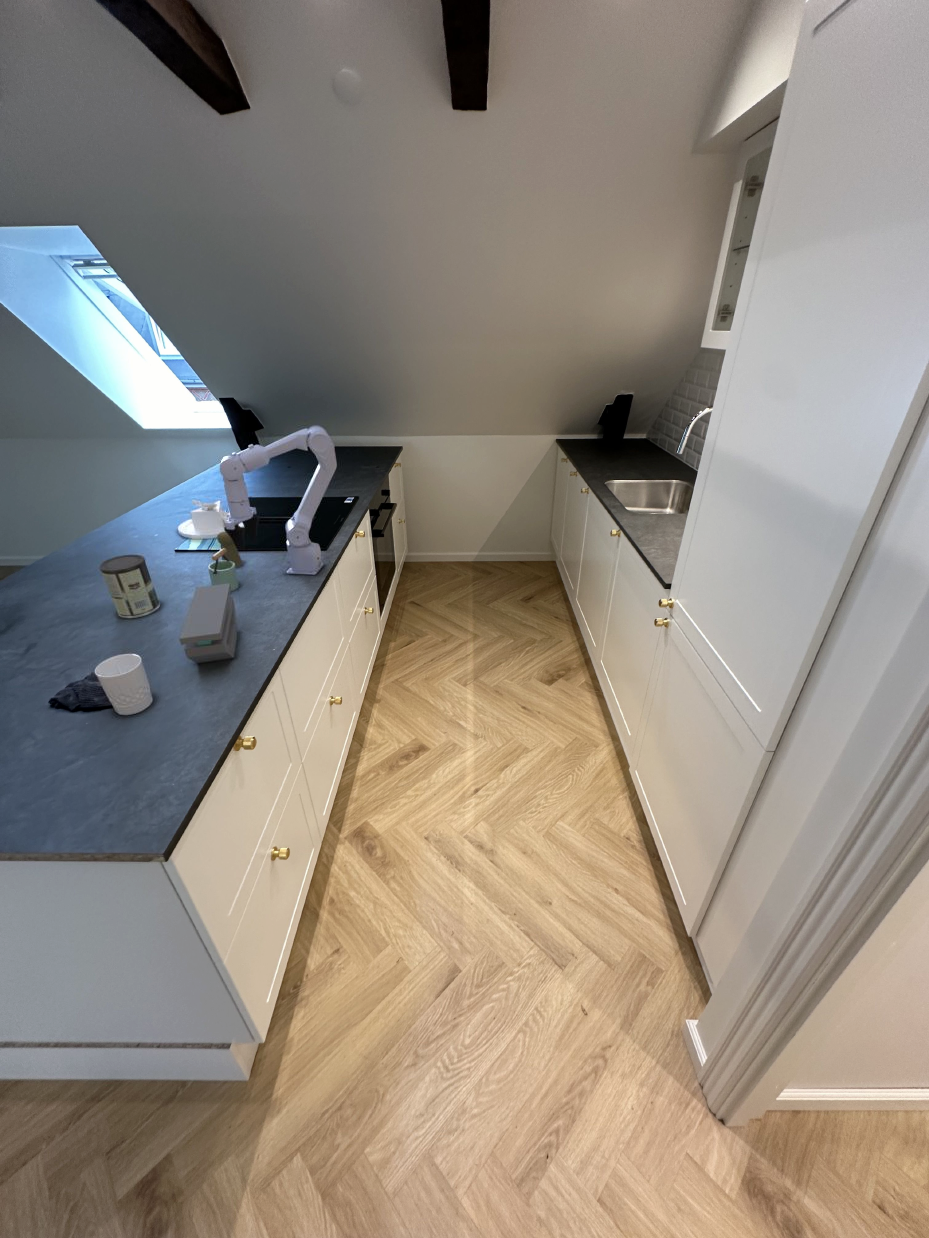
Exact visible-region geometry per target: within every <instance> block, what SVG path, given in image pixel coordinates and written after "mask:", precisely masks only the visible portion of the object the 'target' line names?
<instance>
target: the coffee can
mask: <svg viewBox="0 0 929 1238" xmlns="http://www.w3.org/2000/svg"><path fill="white" fill-rule="evenodd" d="M98 569H99V571H100V572H101V574H102V577H103V579H104V582H105V585H106V587H107V589H108V591H109V592H108V593H109V595H110V596H111V600H112V602H113V605H114V607H115V610H116V612H117V615H118V616H119V617H120V618H123V619H137V618H141V617H146V616H148V615H151V614H152V613H155V612H156V611H158V610H159V608H160V607H161V602H160V601H159V598H158V595H157V593H156V589H155V587H154V583H153V581H152V578H151V574H150V571H149V569H148V566H147V563H146V558H145V557H144V556H143V555H142V554H141V555H140V554H123V555H118V556H114V557H111V558H108V559H106V560H105V561H102V562H101V563H99V565H98Z"/></svg>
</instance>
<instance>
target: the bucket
mask: <svg viewBox="0 0 929 1238" xmlns="http://www.w3.org/2000/svg"><path fill="white" fill-rule="evenodd" d="M226 552H227V549H225V548H223V549H222V550H221V549H219V551H217V552H216V553H215V554H214V555H212V556H211V560H212V561H213V562H211V563H209V564H208V566H207V569H208V573H209V579H210V583H211V585H220V584H229V583H230V585H231V592H233V591H235V590H237V589H238V588H239V586H240V585H239V580H238V575H237V574H238V573H237V568H235V563H234V562H232V561H230V560H228V559H227V558H226V556H225V555H224V554H225V553H226ZM222 556H223V557H224V559H225V560H226V561H222V560H219V559H220V558H222Z"/></svg>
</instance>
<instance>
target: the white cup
mask: <svg viewBox="0 0 929 1238" xmlns="http://www.w3.org/2000/svg"><path fill="white" fill-rule="evenodd" d="M144 666H145V665H144V663H143V659H142V657H141V656H140V655H138V654H136V653H125V654H124V653H123V654H117V655H115V656H111V657H109V658H107V659H105V660H103V661H102V662H100V663H99V664H98V665H97V666H96V667H95V669H94V674H95V676H96V677H97V680H98V682H99V684H100V685H101V688H102V690H103V691H104V693H105V695H106V697H107V699H108V701H109V702H110V703H111V705H112V708H113V709H114V711H115V712H116V714H118V715H121V716H130V715H135V714H137V713H138V714H139V713H140V712H143V711H144V710H146V709H147V708H148V707H150V706H151V705H152V703H153V702H154V700H153V695H152V692H151V686H150V683H149V678H148V676H147V672H146V669H145V667H144Z"/></svg>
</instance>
